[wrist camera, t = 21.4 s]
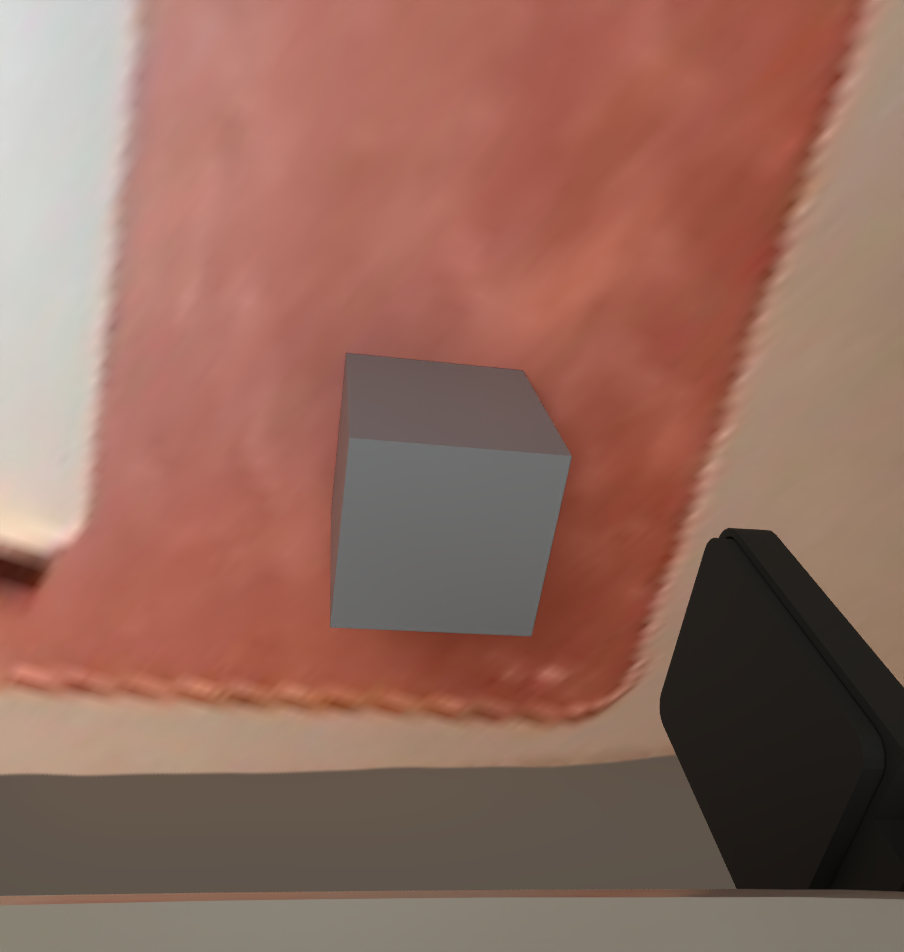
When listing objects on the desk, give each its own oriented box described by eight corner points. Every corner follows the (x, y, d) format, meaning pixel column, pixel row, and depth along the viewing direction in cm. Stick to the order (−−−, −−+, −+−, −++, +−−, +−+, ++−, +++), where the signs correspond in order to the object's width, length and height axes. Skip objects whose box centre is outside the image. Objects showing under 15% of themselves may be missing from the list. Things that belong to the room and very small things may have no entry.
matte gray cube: (346, 352, 37) (349, 437, 29) (522, 370, 38) (571, 456, 30) (331, 512, 40) (330, 627, 32) (493, 523, 41) (531, 636, 33)
